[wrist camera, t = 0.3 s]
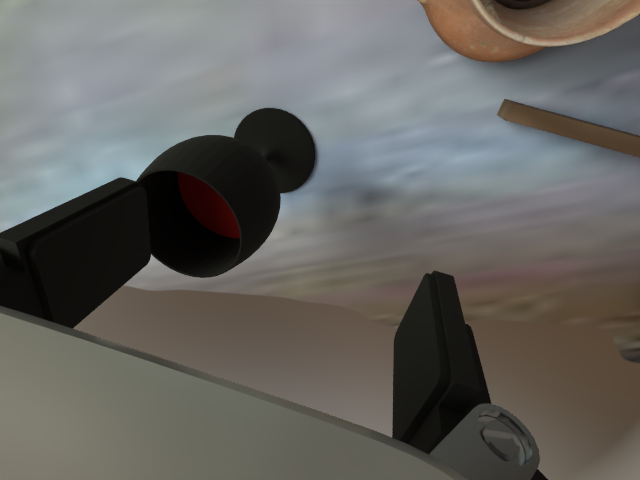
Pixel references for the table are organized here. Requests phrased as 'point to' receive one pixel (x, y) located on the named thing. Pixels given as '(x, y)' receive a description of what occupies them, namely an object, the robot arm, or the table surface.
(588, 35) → the ceramic jug
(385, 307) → the table surface
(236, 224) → the wine glass
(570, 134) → the walnut bay
